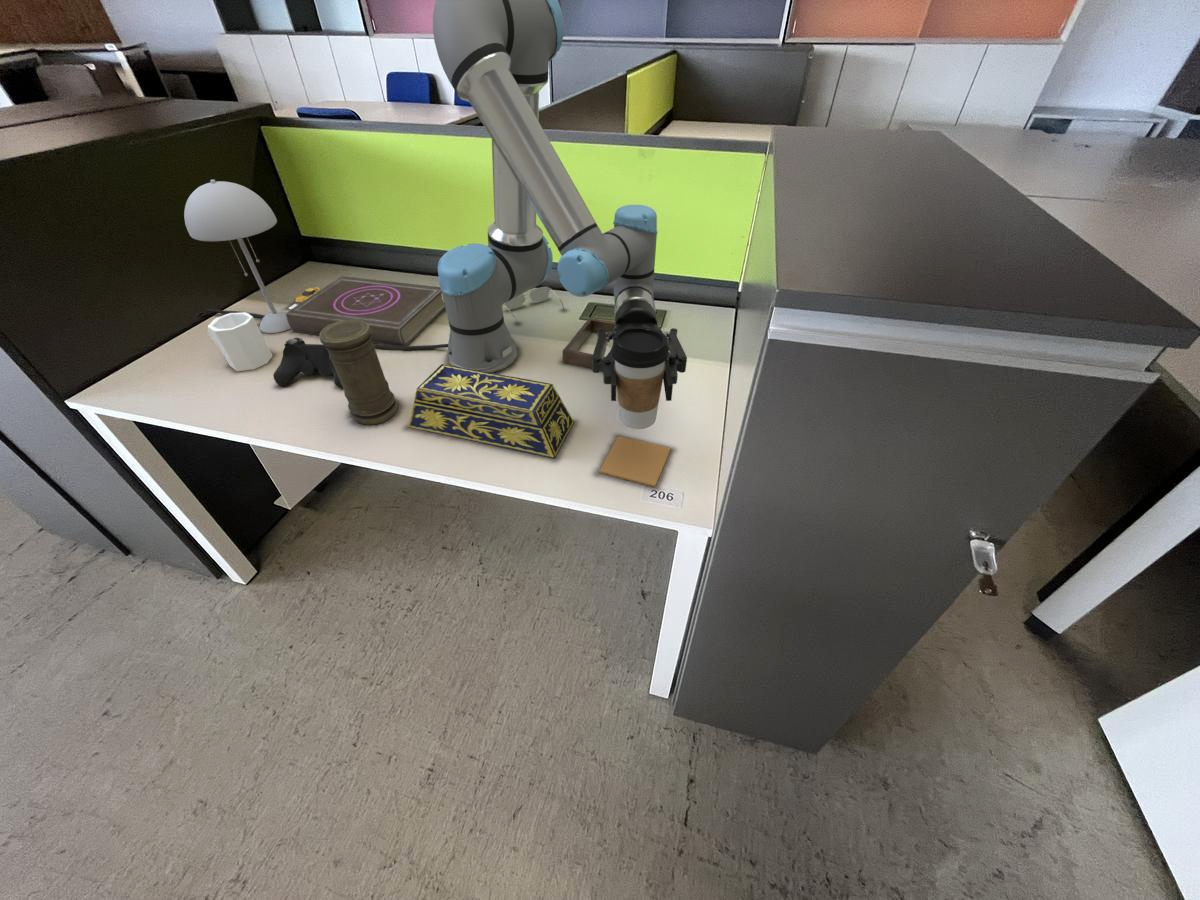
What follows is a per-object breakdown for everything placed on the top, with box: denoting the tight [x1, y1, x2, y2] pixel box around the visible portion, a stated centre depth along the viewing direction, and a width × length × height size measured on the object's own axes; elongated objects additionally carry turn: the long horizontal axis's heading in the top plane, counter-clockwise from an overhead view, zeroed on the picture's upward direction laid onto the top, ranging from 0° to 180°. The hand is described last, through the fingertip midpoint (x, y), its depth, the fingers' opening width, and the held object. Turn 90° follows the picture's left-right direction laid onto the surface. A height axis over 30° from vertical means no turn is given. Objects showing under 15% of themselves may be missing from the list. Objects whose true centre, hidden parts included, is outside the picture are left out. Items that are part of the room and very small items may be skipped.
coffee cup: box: [611, 327, 670, 430], centre depth 80 cm, size 8×8×15 cm
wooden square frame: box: [562, 317, 615, 369], centre depth 118 cm, size 16×16×3 cm
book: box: [286, 275, 446, 346], centre depth 130 cm, size 30×22×5 cm
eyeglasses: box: [503, 286, 565, 325], centre depth 133 cm, size 14×8×4 cm, turn 122°
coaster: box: [598, 435, 671, 488], centre depth 92 cm, size 10×10×1 cm
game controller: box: [272, 336, 343, 389], centre depth 110 cm, size 16×7×10 cm, turn 86°
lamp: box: [183, 179, 292, 334], centre depth 119 cm, size 17×17×33 cm
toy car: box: [287, 286, 322, 310], centre depth 138 cm, size 4×8×2 cm, turn 164°
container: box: [319, 320, 399, 426], centre depth 97 cm, size 9×9×18 cm
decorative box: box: [408, 363, 575, 459], centre depth 97 cm, size 11×30×9 cm, turn 72°
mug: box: [206, 311, 273, 372], centre depth 114 cm, size 12×9×10 cm
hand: (641, 393), depth 76 cm, fingers closed on coffee cup, 7 cm apart
